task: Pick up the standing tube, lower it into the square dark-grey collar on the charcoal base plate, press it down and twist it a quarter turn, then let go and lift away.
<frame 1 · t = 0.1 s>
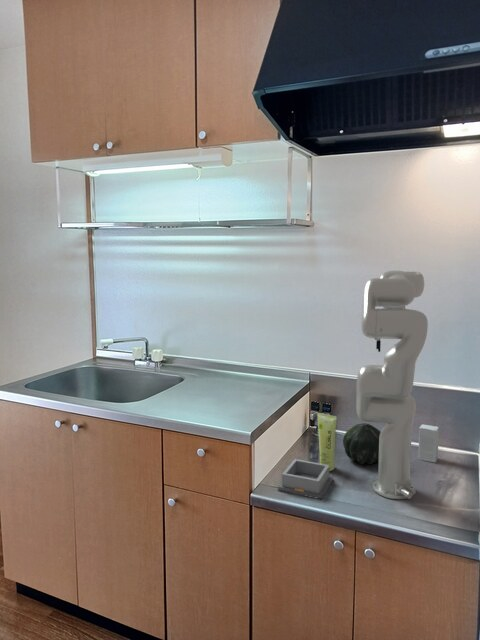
hand: (392, 351, 182), 37 cm above the counter, tool pointing down, fingers open, 9 cm apart
socket: (306, 484, 161), on the counter
skincare box: (427, 459, 178), on the counter
tube: (326, 468, 172), on the counter
squash: (364, 460, 178), on the counter
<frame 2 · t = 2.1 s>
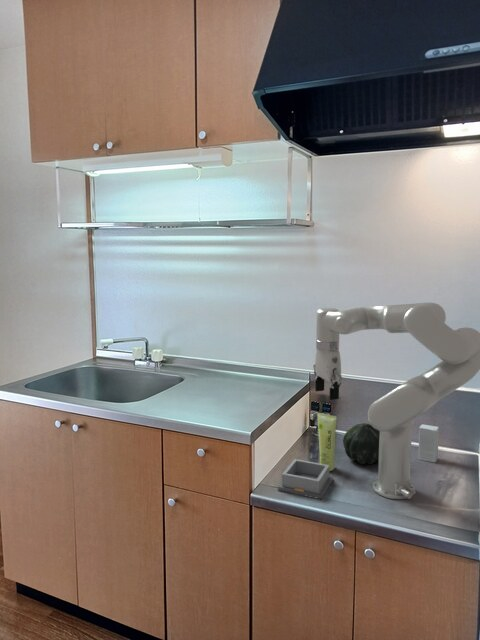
hand: (326, 394, 168), 26 cm above the counter, tool pointing down, fingers open, 9 cm apart
nothing on the counter moved.
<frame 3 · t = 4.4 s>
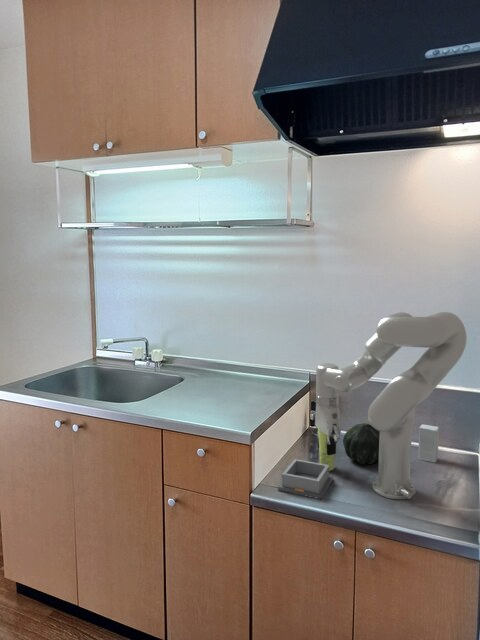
hand: (326, 450, 171), 6 cm above the counter, tool pointing down, fingers closed on tube, 5 cm apart
tube: (326, 468, 172), on the counter, touching gripper
everything else where it was.
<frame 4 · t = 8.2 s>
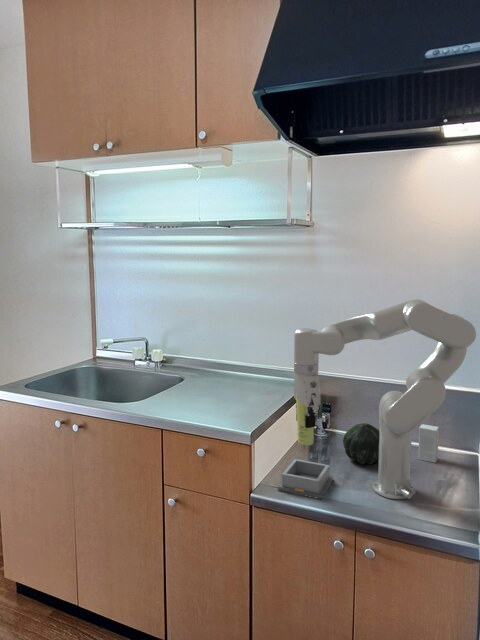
hand: (305, 423, 158), 21 cm above the counter, tool pointing down, fingers closed on tube, 5 cm apart
tube: (305, 443, 159), point 14 cm above the counter, touching gripper
everything else where it was.
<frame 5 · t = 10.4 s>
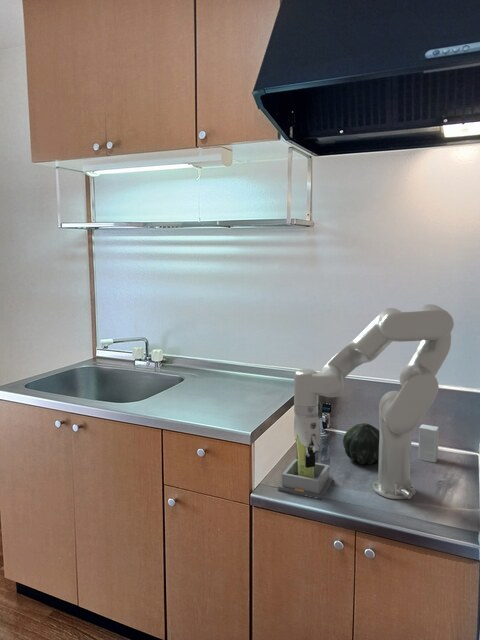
hand: (305, 462, 160), 8 cm above the counter, tool pointing down, fingers closed on tube, 5 cm apart
tube: (305, 481, 161), point 1 cm above the counter, touching gripper, socket
everything else where it was.
when the fingers open (8 cm above the counter, at t = 12.2 s): tube stays where it is, resting on socket.
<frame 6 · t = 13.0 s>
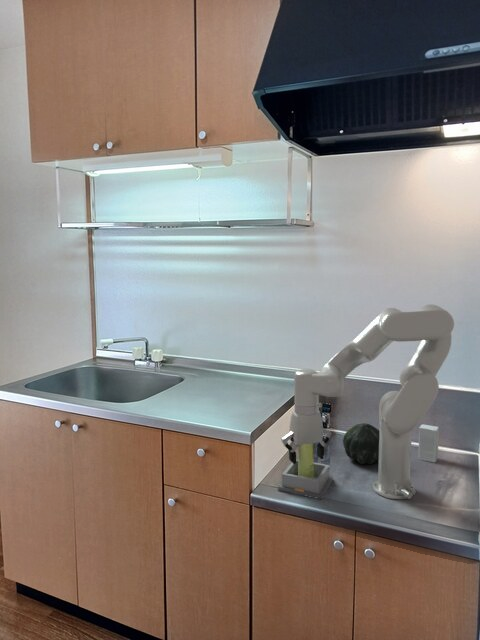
hand: (306, 459, 159), 9 cm above the counter, tool pointing down, fingers open, 9 cm apart
tube: (305, 481, 161), point 1 cm above the counter, touching socket
everything else where it was.
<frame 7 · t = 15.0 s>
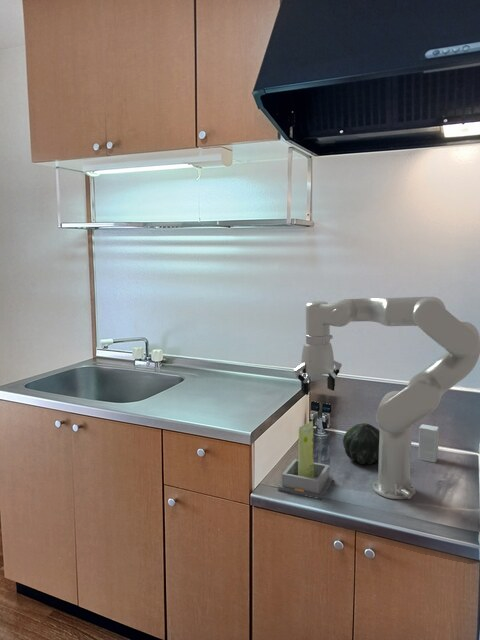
hand: (318, 391, 162), 29 cm above the counter, tool pointing down, fingers open, 9 cm apart
nothing on the counter moved.
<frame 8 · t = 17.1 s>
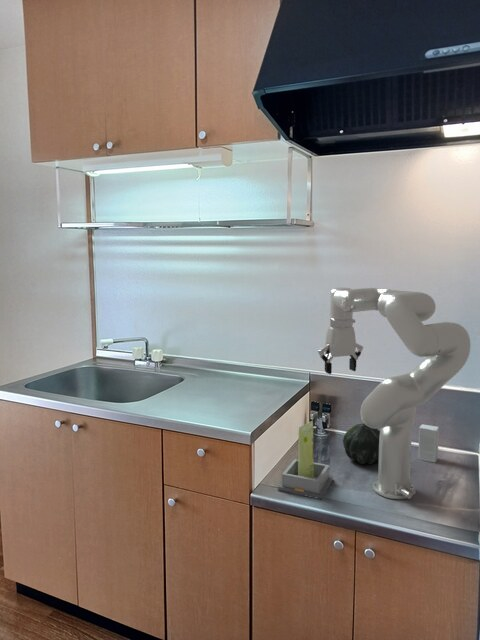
hand: (340, 371, 174), 32 cm above the counter, tool pointing down, fingers open, 9 cm apart
nothing on the counter moved.
at the end: tube 0.2 cm off-centre on the socket, point 1.0 cm above the socket's base; tube tilted 0°; the gripper is holding nothing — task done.
